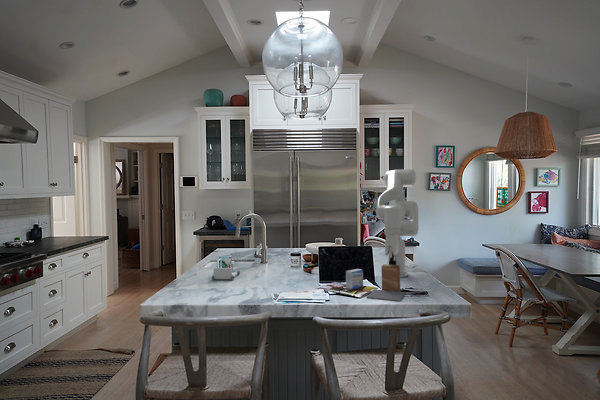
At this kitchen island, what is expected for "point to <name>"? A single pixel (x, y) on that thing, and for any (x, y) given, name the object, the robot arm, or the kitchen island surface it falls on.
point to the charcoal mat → (386, 295)
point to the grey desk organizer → (225, 272)
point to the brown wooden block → (391, 277)
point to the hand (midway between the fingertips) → (392, 268)
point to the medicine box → (354, 278)
